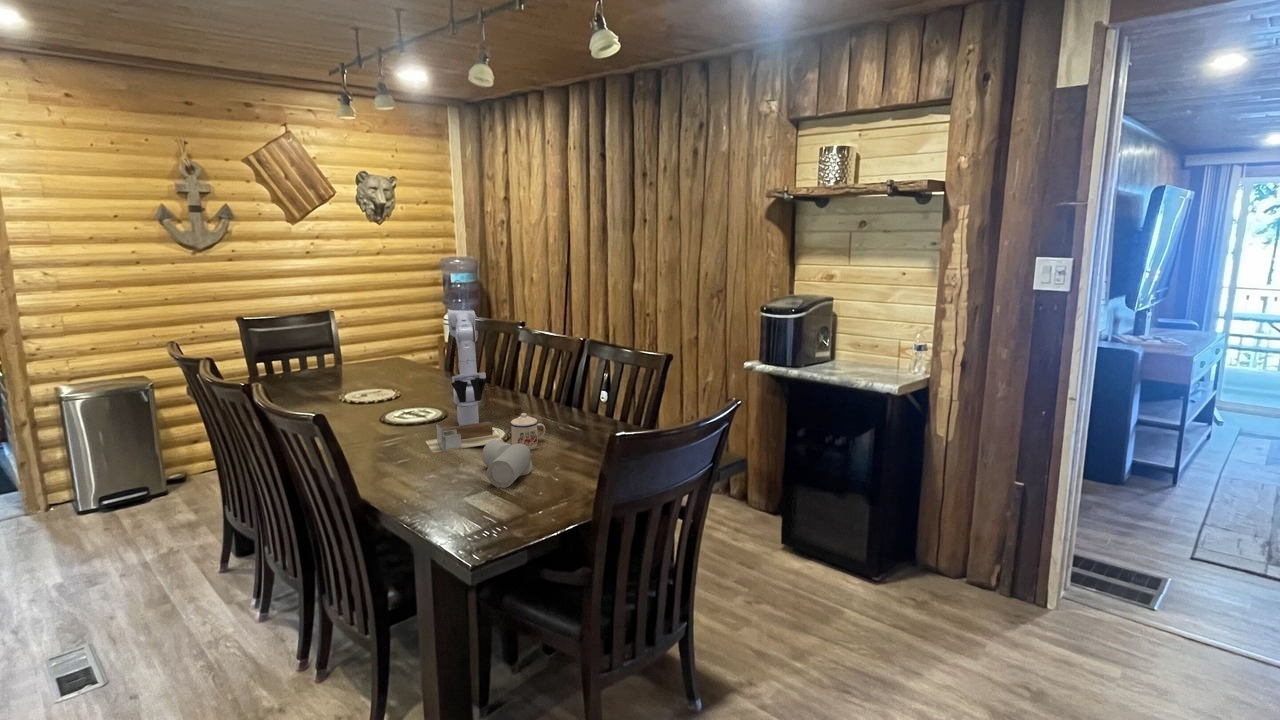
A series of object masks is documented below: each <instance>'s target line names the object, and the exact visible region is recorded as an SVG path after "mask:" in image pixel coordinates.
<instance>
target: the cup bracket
mask: <svg viewBox="0 0 1280 720" xmlns="http://www.w3.org/2000/svg"><path fill="white" fill-rule="evenodd" d="M435 426H436V428H435V429H436V439H437V443H438V446H439V447H440V448H441V450H442V452H445V451H444V450H448V451H450V450H449V449H455V450H457V449H456V448H461V435H460V434H457V430H449V431H443V430H442V429H441V428H442V427H441V426H440V425H439V424H436V425H435ZM461 449H462V448H461Z"/></svg>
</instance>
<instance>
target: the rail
mask: <svg viewBox="0 0 1280 720" xmlns="http://www.w3.org/2000/svg"><path fill="white" fill-rule="evenodd" d="M441 429H442V430H443V431H449V430H457V434H460V435H461V440H462V439H468V438H475V437H482V436H489V435H493V431H494V430H493V423H492V422H491V421H483V422H479V423H475V424H468V425H461V426H459V425H455V426H447V427H441Z"/></svg>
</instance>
